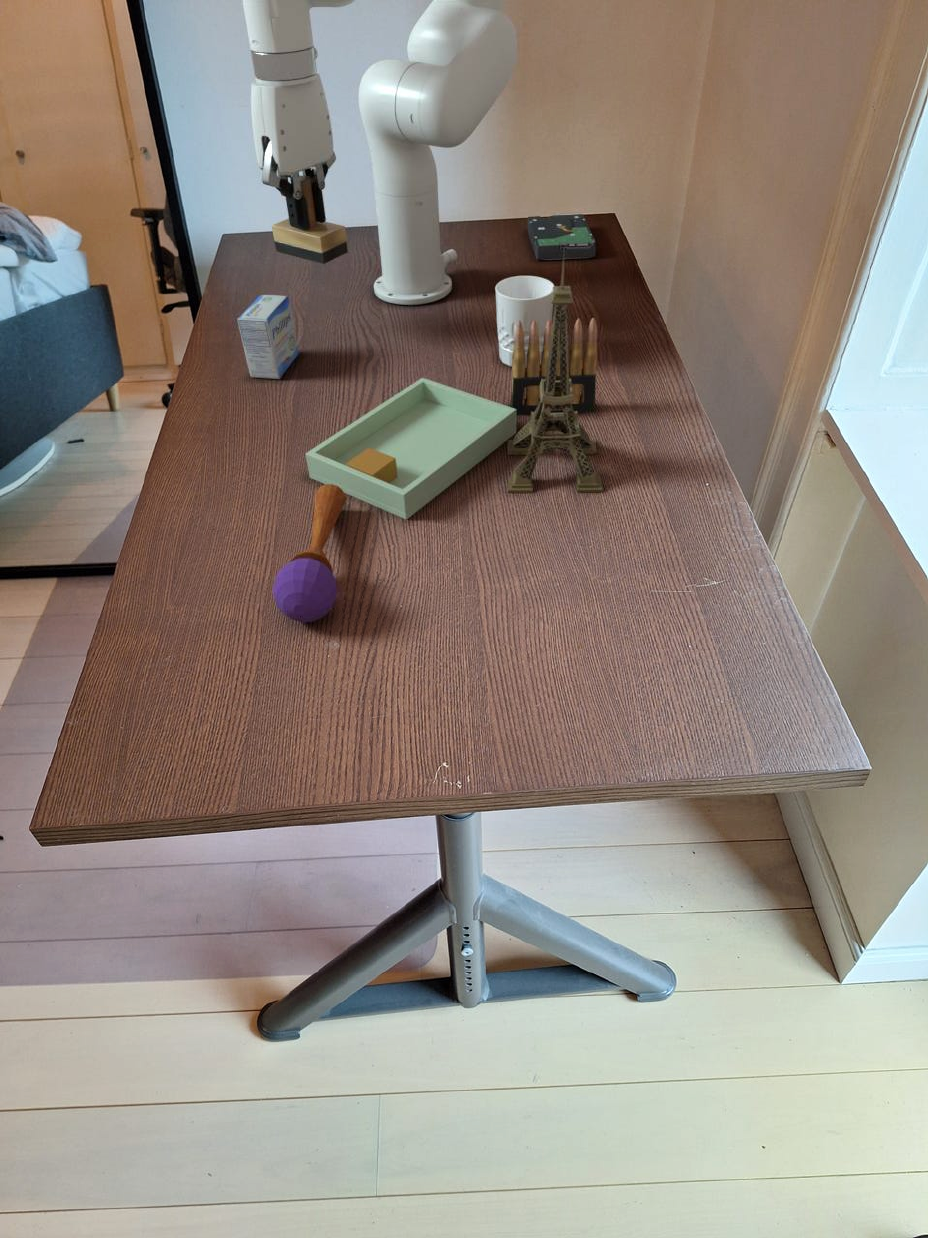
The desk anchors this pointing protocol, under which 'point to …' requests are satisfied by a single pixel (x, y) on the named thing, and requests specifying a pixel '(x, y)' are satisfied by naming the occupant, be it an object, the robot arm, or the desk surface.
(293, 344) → the medicine box
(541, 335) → the white cup
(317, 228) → the brush
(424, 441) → the tray
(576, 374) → the ammunition clip
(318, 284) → the desk surface
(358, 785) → the desk surface
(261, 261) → the desk surface
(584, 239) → the disk drive
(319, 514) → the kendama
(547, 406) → the eiffel tower
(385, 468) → the wooden block
